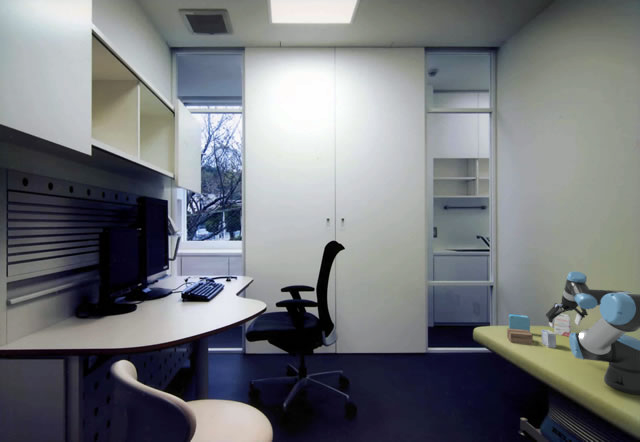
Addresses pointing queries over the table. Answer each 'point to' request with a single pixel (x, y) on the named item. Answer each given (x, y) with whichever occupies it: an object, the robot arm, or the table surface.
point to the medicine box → (549, 338)
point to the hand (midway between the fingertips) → (563, 324)
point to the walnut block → (519, 336)
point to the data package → (519, 322)
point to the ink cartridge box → (562, 325)
